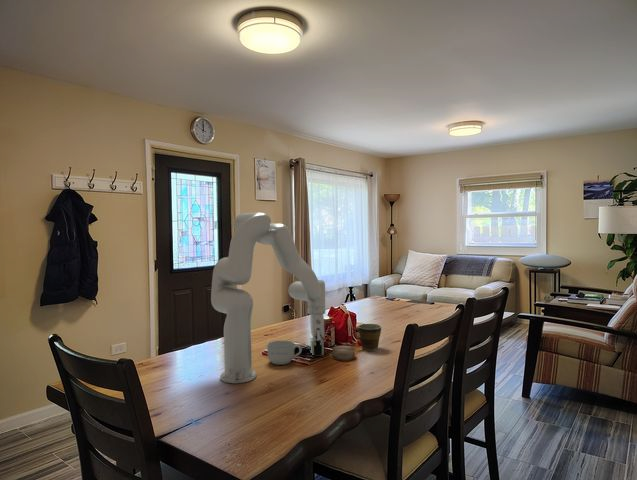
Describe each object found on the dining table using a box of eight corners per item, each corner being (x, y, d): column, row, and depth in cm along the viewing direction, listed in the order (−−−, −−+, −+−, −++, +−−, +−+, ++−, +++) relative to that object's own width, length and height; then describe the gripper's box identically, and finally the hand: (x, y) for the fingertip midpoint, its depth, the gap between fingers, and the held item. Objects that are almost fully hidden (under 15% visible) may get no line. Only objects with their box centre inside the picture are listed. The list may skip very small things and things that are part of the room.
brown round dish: (356, 360, 167) (356, 351, 167) (334, 361, 166) (334, 352, 166) (352, 353, 176) (352, 344, 176) (330, 354, 175) (330, 345, 175)
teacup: (261, 364, 164) (261, 344, 163) (277, 356, 173) (277, 337, 173) (292, 370, 157) (292, 348, 157) (306, 361, 167) (306, 341, 166)
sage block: (323, 355, 175) (323, 340, 175) (311, 355, 174) (311, 341, 174) (322, 351, 180) (321, 337, 179) (310, 352, 179) (310, 338, 179)
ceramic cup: (381, 346, 186) (380, 323, 186) (382, 353, 176) (382, 329, 176) (351, 345, 187) (351, 323, 187) (351, 352, 178) (350, 329, 177)
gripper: (328, 313, 168) (328, 358, 169) (322, 305, 185) (323, 346, 186) (309, 314, 167) (310, 359, 168) (305, 306, 184) (306, 347, 185)
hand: (317, 352), depth 177 cm, fingers closed on sage block, 5 cm apart
